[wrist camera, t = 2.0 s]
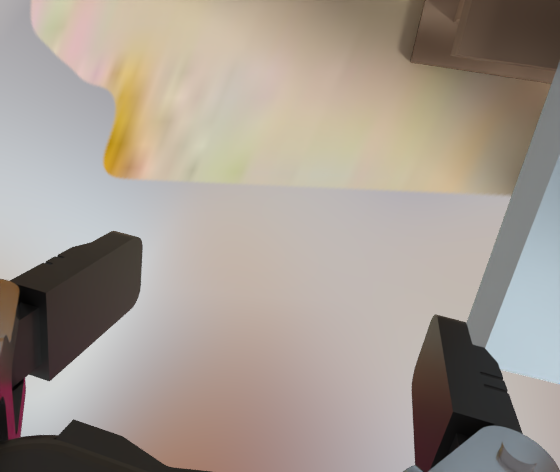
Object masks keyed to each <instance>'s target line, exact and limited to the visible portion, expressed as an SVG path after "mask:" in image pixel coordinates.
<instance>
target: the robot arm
mask: <svg viewBox="0 0 560 472" xmlns="http://www.w3.org/2000/svg"><path fill="white" fill-rule="evenodd" d="M141 266H142V241H141V239H140V238H139V237H135V236H131V235H128V234H124V233H120V232H116V231H111V232H110V233H108V234H106V235H104V236H102V237H100V238H99V239H97V240H95V241H93V242H91V243H87V244H83V245H79V246H75V247H72V248H70V249H68V250H66V251H64V252H62V253H61V254H59V255H58V257H53V258H51V259H50V260H48V261H46V263H42V264H40V265H38V266H36V267H34V268H33V269H31V270H29V271H27V272H25V273H23V274H21V275H20V276H18V277H16V278H14V279H12V280H10V281H7V280H4V279H0V472H210V471H200V470H191V469H181V468H180V469H179V468H172V467H168V466H166V465H164V464H162V463H161V462H159V461H158V460H156V459H155V458H154V457H152V456H151V455H149V454H148V453H146V452H145V451H143V450H141V449H140V448H139V447H137V446H136V445H134V444H133V443H131V442H130V441H128V440H127V439H126V438H124V437H122V436H120V435H117V434H114V433H111V432H108V431H105V430H102V429H99V428H97V427H94V426H91V425H88V424H85V423H82V422H79V421H76V420H72V422H71V423H70V424H69V425H68V426H67V427H66V428H65V429H64V430H63V431H62V432H61V434H59V435H36V436H26V437H21V428H22V420H23V411H24V402H25V393H26V385H25V377H26V376H27V375H33V376H36V377H38V378H41V379H44V380H47V381H50V380H52V379H53V378H54V377H55V376H56V375H57V374H58V373H59V372H61V371H62V370H63V369H64V368H65V367H66V366H67V365H68V364H70V363H71V362H72V361H73V360H74V359H75V358H76V357H77V356H79V355H80V354H81V353H82V352H83V351H84V350H85V349H86V348H88V347H89V346H90V345H91V344H92V343H93V342H94V341H95V340H96V339H98V338H99V337H100V336H101V335H102V334H103V333H105V332H106V331H107V330H108V329H109V328H110V327H111V326H112V325H113V324H115V323H116V322H117V321H118V320H119V319H120V318H121V317H123V315H124V314H126V313H127V312H128V311H129V310H130V309H131V308H132V307H133V306H134V305H135V303H136V301H137V299H138V296H139V292H140V286H141ZM412 406H413V426H414V449H415V465H414V466H411V467H409V468H407V469H406V470H405V471H403V472H560V470H559V468H558V466H557V464H556V463H555V461H554V460H553V458H552V457H551V456H550V455H549V454H548V453H547V452H546V451H545V450H544V449H543V448H542V447H541V446H540V445H539V444H537V443H536V442H535V441H533V440H531V439H530V438H529V437H527V436H525V435H523V433H522V431H521V428H520V425H519V422H518V419H517V416H516V413H515V411H514V408H513V405H512V402H511V399H510V396H509V394H508V393H507V388H506V385H505V382H504V381H503V377H502V373H501V371H500V368H499V365H498V362H497V361H496V360H495V359H494V358H493V357H492V356H491V355H490V353H489V352H488V351H487V350H486V349H485V348H484V347H480V346H476V345H473V344H472V341H471V337H470V334H469V330H468V326H467V323H466V322H462V321H459V320H455V319H451V318H447V317H443V316H439V315H434V316H433V318H432V320H431V322H430V325H429V328H428V331H427V334H426V337H425V340H424V343H423V346H422V349H421V352H420V354H419V357H418V360H417V363H416V366H415V370H414V374H413V381H412Z"/></svg>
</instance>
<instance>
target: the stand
mask: <svg viewBox="0 0 560 472" xmlns="http://www.w3.org/2000/svg"><path fill="white" fill-rule="evenodd" d="M559 61H560V0H425V2H424V6H423V11H422V15H421V19H420V23H419V27H418V32H417V36H416V40H415V44H414V49H413V53H412V57H411V61H410V62H412V63H418V64H425V65H431V66H438V67H445V68H451V69H458V70H464V71H471V72H478V73H484V74H491V75H498V76H504V77H511V78H517V79H524V80H531V81H537V82H544V83H550V84H552V81H553V78H554V75H555V73H556V70H557V67H558V64H559Z"/></svg>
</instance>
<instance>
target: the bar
mask: <svg viewBox="0 0 560 472" xmlns="http://www.w3.org/2000/svg"><path fill="white" fill-rule="evenodd" d="M467 326H468V330H469V334H470V337H471V341H472V344H473V345H476V346H480V347H484V348H485V349H486V350H487V351H488V352H489V353H490V355H491V356H492V357H493V358H494V359H495V360H496V361H497V362H498V365H499V368H500V370H503V371H507V372H511V373H515V374H520V375H523V376H528V377H532V378H536V379H540V380H544V381H548V382H552V383H557V384H560V61H559V64H558V67H557V70H556V73H555V75H554V78H553V81H552V84H551V87H550V90H549V92H548V95H547V98H546V101H545V104H544V106H543V109H542V112H541V115H540V118H539V120H538V123H537V126H536V129H535V132H534V135H533V137H532V140H531V143H530V146H529V149H528V151H527V154H526V157H525V160H524V163H523V166H522V168H521V171H520V174H519V177H518V180H517V182H516V185H515V188H514V191H513V194H512V196H511V199H510V202H509V205H508V208H507V211H506V213H505V216H504V219H503V222H502V225H501V228H500V230H499V233H498V236H497V239H496V242H495V244H494V247H493V250H492V253H491V256H490V258H489V261H488V264H487V267H486V270H485V273H484V275H483V278H482V281H481V284H480V287H479V290H478V292H477V295H476V298H475V301H474V303H473V306H472V309H471V312H470V315H469V317H468V320H467Z"/></svg>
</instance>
